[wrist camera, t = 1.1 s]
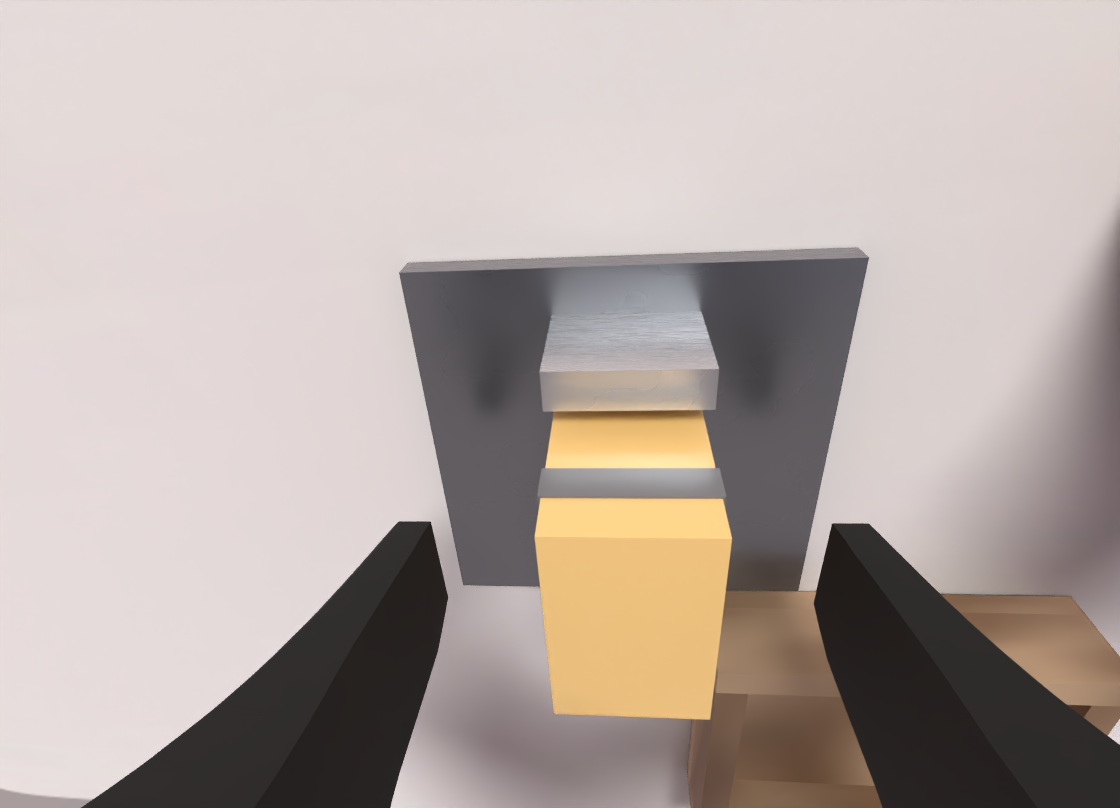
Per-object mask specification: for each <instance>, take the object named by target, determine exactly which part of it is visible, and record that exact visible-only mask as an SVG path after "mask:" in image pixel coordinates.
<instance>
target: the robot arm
mask: <svg viewBox="0 0 1120 808" xmlns="http://www.w3.org/2000/svg"><path fill="white" fill-rule="evenodd" d="M447 600H448V595H447V591H446V587H445V582H444V578H443V573H442V569H441V565H440V560H439V556H438V552H437V547H436V543H435V538H434V534H433V530H432V525H431V522H398V523H397V524H396V525H395V526H394V527H393V528H392V529H391V530H390V532H389V533H388V534H387V535H386V536H385V537H384V538H383V539H382V541H381V542H380V543H379V544H378V545H377V546H376V547H375V549H374V550H373V551H372V552H371V553H370V554H369V555H368V557H367V558H366V559H365V560H364V561H363V562H362V563H361V565H360V566H359V567H358V568H357V569H356V570H355V571H354V572H353V574H352V575H351V576H350V577H349V578H348V579H347V580H346V581H345V582H344V584H343V585H342V586H341V587H340V588H339V589H338V590H337V591H336V592H335V593H334V594H333V595H332V597H331V598H330V599H329V600H328V601H327V602H326V603H325V604H324V605H323V606H322V607H321V608H320V609H319V611H318V612H317V613H316V614H315V615H314V616H313V617H312V618H311V619H310V620H309V621H308V622H307V623H306V624H305V625H304V626H303V627H302V628H301V629H300V630H299V631H298V632H297V633H296V634H295V635H294V636H293V637H292V638H291V639H290V640H289V641H288V642H287V643H286V644H285V645H284V646H283V647H282V648H281V649H280V650H279V651H278V652H277V653H276V654H275V655H274V656H273V657H272V658H271V659H269V660H268V661H267V662H266V663H265V664H264V665H263V666H262V667H261V668H260V669H259V670H258V671H257V672H255V673H254V674H253V675H252V676H251V677H250V678H249V679H248V680H247V681H245V682H244V683H243V684H242V685H241V686H240V687H239V688H238V689H236V690H235V691H234V692H233V693H232V694H231V695H229V696H228V697H227V698H226V699H225V700H224V701H223V702H221V703H220V704H219V705H218V706H217V707H215V708H214V709H213V710H212V711H211V712H209V713H208V714H207V715H206V716H204V717H203V718H202V719H201V720H199V721H198V722H197V723H196V724H194V725H193V726H192V727H190V728H189V729H188V730H187V731H185V732H184V733H183V734H181V735H180V736H179V737H178V738H176V739H175V740H174V741H172V742H171V743H170V744H169V745H167V746H166V747H165V748H163V749H162V750H161V751H160V752H158V753H157V754H156V755H154V756H153V757H152V758H151V759H149V760H148V761H147V762H145V763H144V764H143V765H141V766H140V767H138V768H137V769H136V770H134V771H133V772H131V773H130V774H129V775H127V776H126V777H124V778H123V779H122V780H120V781H119V782H117V783H116V784H115V785H113V786H112V787H110V788H109V789H108V790H106V791H105V792H103V793H102V794H100V795H99V796H98V797H96V798H95V799H93V800H92V801H90V802H89V803H87V804H86V805H84V806H83V807H81V808H390V807H391V802H392V798H393V795H394V791H395V787H396V784H397V780H398V776H399V773H400V770H401V766H402V763H403V760H404V757H405V754H406V751H407V748H408V744H409V741H410V738H411V735H412V732H413V729H414V725H415V722H416V719H417V716H418V713H419V710H420V707H421V703H422V700H423V697H424V694H425V691H426V688H427V684H428V681H429V678H430V675H431V671H432V668H433V665H434V662H435V658H436V655H437V652H438V648H439V643H440V638H441V633H442V628H443V622H444V617H445V611H446V605H447ZM814 608H815V612H816V616H817V621H818V625H819V629H820V633H821V637H822V641H823V645H824V649H825V653H826V657H827V660H828V663H829V666H830V669H831V671H832V674H833V677H834V680H835V682H836V685H837V688H838V690H839V693H840V696H841V698H842V701H843V704H844V706H845V709H846V712H847V714H848V717H849V720H850V722H851V725H852V727H853V730H854V733H855V735H856V738H857V741H858V743H859V746H860V748H861V751H862V754H863V756H864V759H865V762H866V764H867V767H868V769H869V772H870V775H871V777H872V780H873V783H874V785H875V788H876V791H877V793H878V796H879V799H880V802H881V805H882V808H1120V745H1119V744H1118V743H1116V742H1115V741H1114V740H1112V739H1111V738H1110V737H1108V736H1107V735H1106V734H1104V733H1103V732H1102V731H1101V730H1099V729H1098V728H1097V727H1095V726H1094V725H1093V724H1091V723H1090V722H1089V721H1087V720H1086V719H1085V718H1084V717H1082V716H1081V715H1080V714H1078V713H1077V712H1076V711H1074V710H1073V709H1072V708H1070V707H1069V706H1068V705H1067V704H1065V703H1064V702H1063V701H1062V700H1060V699H1059V698H1058V697H1057V696H1055V695H1054V694H1053V693H1052V692H1050V691H1049V690H1048V689H1047V688H1045V687H1044V686H1043V685H1042V684H1041V683H1039V682H1038V681H1037V680H1036V679H1035V678H1033V677H1032V676H1031V675H1030V674H1029V673H1028V672H1026V671H1025V670H1024V669H1023V668H1022V667H1021V666H1019V665H1018V664H1017V663H1016V662H1015V661H1013V660H1012V659H1011V658H1010V657H1009V656H1008V655H1006V654H1005V653H1004V652H1003V651H1002V650H1001V649H999V648H998V647H997V646H996V645H995V644H994V643H993V642H992V641H990V640H989V639H988V638H987V637H986V636H985V635H984V634H983V633H981V632H980V631H979V630H978V629H977V628H976V627H975V626H974V625H973V624H972V623H971V622H969V621H968V620H967V619H966V618H965V617H964V616H963V615H962V614H961V613H960V612H959V611H958V610H957V609H956V608H954V607H953V606H952V605H951V604H950V603H949V602H948V601H947V600H946V599H945V598H944V597H943V596H942V595H941V594H940V593H939V592H938V591H937V590H936V589H934V588H933V587H932V586H931V585H930V584H929V583H928V582H927V581H926V580H925V579H924V578H923V577H922V576H921V575H920V574H919V573H918V572H917V571H916V570H915V569H914V568H913V567H912V566H911V565H910V564H909V563H908V562H907V561H906V560H905V559H904V558H903V557H902V556H901V555H900V554H899V553H898V552H897V551H896V550H895V549H894V548H893V547H892V546H891V545H890V544H889V543H888V542H887V541H886V540H885V539H884V538H883V537H882V536H881V535H880V534H879V533H878V532H877V531H876V530H875V529H874V528H873V527H872V526H871V525H870V524H832V527H831V531H830V535H829V540H828V544H827V548H826V552H825V556H824V561H823V565H822V569H821V573H820V578H819V582H818V586H817V590H816V595H815V599H814Z"/></svg>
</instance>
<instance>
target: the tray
mask: <svg viewBox="0 0 1120 808" xmlns="http://www.w3.org/2000/svg"><path fill="white" fill-rule="evenodd" d="M815 595H816V592H792V591H736V590H726V593H725V601H724V609H723V617H722V625H721V634H720V642H719V650H718V658H717V666H716V675H715V683H714V691H713V699H712V707H711V716H710V720H705V719H692V727H691V737H690V747H689V758H688V768H687V775H688V785H689V795H690V805H691V808H882V805H881V802H880V799H879V796H878V793H877V791H876V788H875V785H874V783H873V780H872V777H871V775H870V772H869V769H868V767H867V764H866V762H865V759H864V756H863V754H862V751H861V748H860V746H859V743H858V741H857V738H856V735H855V733H854V730H853V727H852V725H851V722H850V720H849V717H848V714H847V712H846V709H845V706H844V704H843V701H842V698H841V696H840V693H839V690H838V688H837V685H836V682H835V680H834V677H833V674H832V671H831V669H830V666H829V663H828V660H827V657H826V653H825V649H824V645H823V641H822V637H821V633H820V629H819V625H818V621H817V616H816V612H815V608H814V599H815ZM941 595H942V596H943V597H944V598H945V599H946V600H947V601H948V602H949V603H950V604H951V605H952V606H953V607H954V608H956V609H957V610H958V611H959V612H960V613H961V614H962V615H963V616H964V617H965V618H966V619H967V620H968V621H969V622H971V623H972V624H973V625H974V626H975V627H976V628H977V629H978V630H979V631H980V632H981V633H983V634H984V635H985V636H986V637H987V638H988V639H989V640H990V641H992V642H993V643H994V644H995V645H996V646H997V647H998V648H999V649H1001V650H1002V651H1003V652H1004V653H1005V654H1006V655H1008V656H1009V657H1010V658H1011V659H1012V660H1013V661H1015V662H1016V663H1017V664H1018V665H1019V666H1021V667H1022V668H1023V669H1024V670H1025V671H1026V672H1028V673H1029V674H1030V675H1031V676H1032V677H1033V678H1035V679H1036V680H1037V681H1038V682H1039V683H1041V684H1042V685H1043V686H1044V687H1045V688H1047V689H1048V690H1049V691H1050V692H1052V693H1053V694H1054V695H1055V696H1057V697H1058V698H1059V699H1060V700H1062V701H1063V702H1064V703H1065V704H1067V705H1068V706H1069V707H1070V708H1072V709H1073V710H1074V711H1076V712H1077V713H1078V714H1080V715H1081V716H1082V717H1084V718H1085V719H1086V720H1087V721H1089V722H1090V723H1091V724H1093V725H1094V726H1095V727H1097V728H1098V729H1099V730H1101V731H1102V732H1103V733H1104V734H1106V735H1108V734H1109V733H1110V731H1111V730H1112V729H1113V727H1114V726H1115V725H1116V723H1117V722H1118V720H1119V719H1120V657H1119V655H1118V654H1117V653H1116V652H1115V650H1114V649H1113V648H1112V647H1111V645H1110V644H1109V643H1108V642H1107V641H1106V639H1105V638H1104V637H1103V636H1102V634H1101V633H1100V632H1099V631H1098V629H1097V628H1096V627H1095V626H1094V624H1093V623H1092V622H1091V621H1090V619H1089V618H1088V617H1087V616H1086V614H1085V613H1084V612H1083V611H1082V610H1081V608H1080V607H1079V606H1078V605H1077V603H1076V602H1075V601H1074V600H1073V598H1072V597H1070V596H1014V595H958V594H941Z"/></svg>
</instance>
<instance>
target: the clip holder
mask: <svg viewBox="0 0 1120 808" xmlns="http://www.w3.org/2000/svg"><path fill="white" fill-rule="evenodd" d="M868 259H869V257H868V256H867V255H866V254H864V253H863V252H862V251H861V250H860V249H859V248H832V249H803V250H773V251H744V252H714V253H685V254H656V255H626V256H597V257H568V258H538V259H509V260H479V261H450V262H421V263H407V265H406V266H405V267H404V268H403V269H402V270H401V271H400V272H399V274H400V279H401V284H402V288H403V293H404V298H405V303H406V308H407V313H408V318H409V323H410V327H411V332H412V337H413V342H414V347H415V352H416V357H417V361H418V366H419V371H420V376H421V381H422V386H423V391H424V396H425V400H426V405H427V410H428V415H429V420H430V425H431V430H432V435H433V439H434V444H435V449H436V454H437V459H438V464H439V469H440V474H441V478H442V483H443V488H444V493H445V498H446V503H447V508H448V512H449V517H450V522H451V527H452V532H453V537H454V542H455V547H456V551H457V556H458V561H459V566H460V571H461V576H462V581H463V585H485V586H540V582H539V573H538V564H537V554H536V545H535V531H536V524H537V518H538V511H539V509H538V499H537V493H538V487H539V481H540V475H541V469H542V468H545V466H546V460H547V454H548V447H549V441H550V434H551V428H552V421H553V415H554V411H650V410H702V412H703V416H704V420H705V425H706V429H707V433H708V437H709V442H710V446H711V450H712V455H713V459H714V463H715V468H720V472H721V476H722V480H723V484H724V488H725V493H726V505H725V510H726V515H727V519H728V523H729V528H730V532H731V536H732V544H731V552H730V560H729V568H728V576H727V585H726V590H765V591H798V589H799V584H800V579H801V575H802V570H803V565H804V560H805V556H806V551H807V546H808V542H809V537H810V532H811V528H812V523H813V518H814V513H815V509H816V504H817V499H818V495H819V490H820V485H821V480H822V476H823V471H824V466H825V462H826V457H827V452H828V448H829V443H830V438H831V433H832V429H833V424H834V419H835V415H836V410H837V405H838V401H839V396H840V391H841V386H842V382H843V377H844V372H845V368H846V363H847V358H848V354H849V349H850V344H851V339H852V335H853V330H854V325H855V321H856V316H857V311H858V306H859V302H860V297H861V292H862V288H863V283H864V278H865V274H866V269H867V264H868Z"/></svg>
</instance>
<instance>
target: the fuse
mask: <svg viewBox="0 0 1120 808" xmlns="http://www.w3.org/2000/svg"><path fill="white" fill-rule="evenodd" d="M537 499H538V509H539V511H538V518H537V524H536V531H535V545H536V554H537V564H538V573H539V582H540V591H541V600H542V609H543V618H544V627H545V636H546V645H547V654H548V663H549V672H550V682H551V691H552V700H553V709H554V714H573V715H599V716H625V717H652V718H678V719H705V720H710V716H711V707H712V699H713V691H714V683H715V675H716V666H717V658H718V650H719V642H720V634H721V625H722V617H723V609H724V601H725V593H726V585H727V576H728V568H729V560H730V552H731V544H732V536H731V532H730V528H729V523H728V519H727V515H726V510H725V505H726V493H725V488H724V484H723V480H722V476H721V472H720V468H715V463H714V459H713V455H712V450H711V446H710V442H709V437H708V433H707V429H706V425H705V420H704V416H703V412H702V410H650V411H554V415H553V421H552V428H551V434H550V441H549V447H548V454H547V460H546V466H545V468H542V469H541V475H540V481H539V487H538V493H537Z"/></svg>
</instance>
